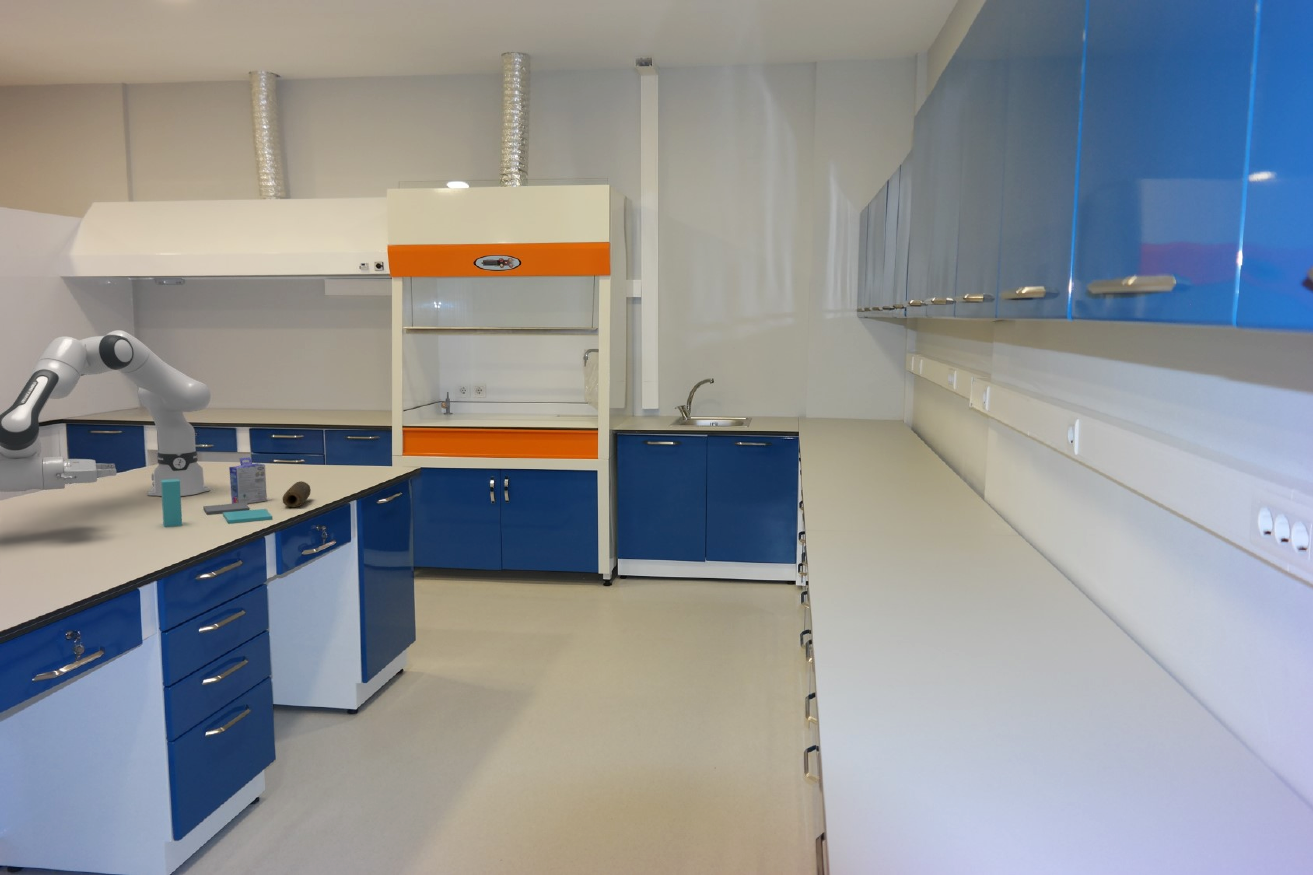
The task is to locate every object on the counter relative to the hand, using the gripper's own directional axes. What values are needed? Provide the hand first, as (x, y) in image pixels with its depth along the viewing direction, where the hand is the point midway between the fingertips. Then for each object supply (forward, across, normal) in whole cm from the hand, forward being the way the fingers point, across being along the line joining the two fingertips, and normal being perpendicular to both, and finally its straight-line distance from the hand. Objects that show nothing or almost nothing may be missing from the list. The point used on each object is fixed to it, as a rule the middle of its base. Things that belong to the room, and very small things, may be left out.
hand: (115, 469), depth 252 cm
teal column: (+13, 0, +17) cm, 22 cm away
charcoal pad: (+29, +14, +17) cm, 37 cm away
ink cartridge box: (+37, +24, +17) cm, 48 cm away
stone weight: (+50, +14, +17) cm, 55 cm away
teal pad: (+33, 0, +17) cm, 37 cm away
